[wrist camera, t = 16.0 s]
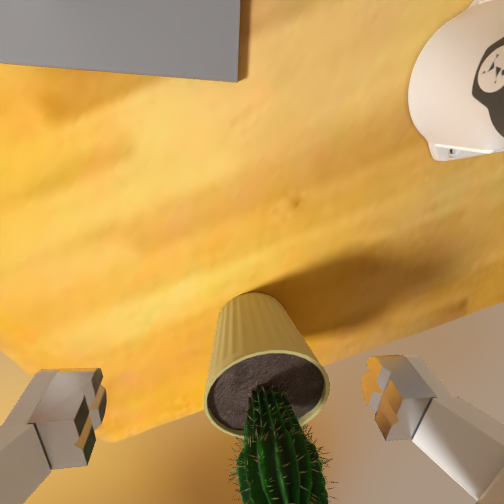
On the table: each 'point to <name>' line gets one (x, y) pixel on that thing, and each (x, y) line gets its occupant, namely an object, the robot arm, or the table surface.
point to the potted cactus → (267, 400)
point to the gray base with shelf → (124, 36)
